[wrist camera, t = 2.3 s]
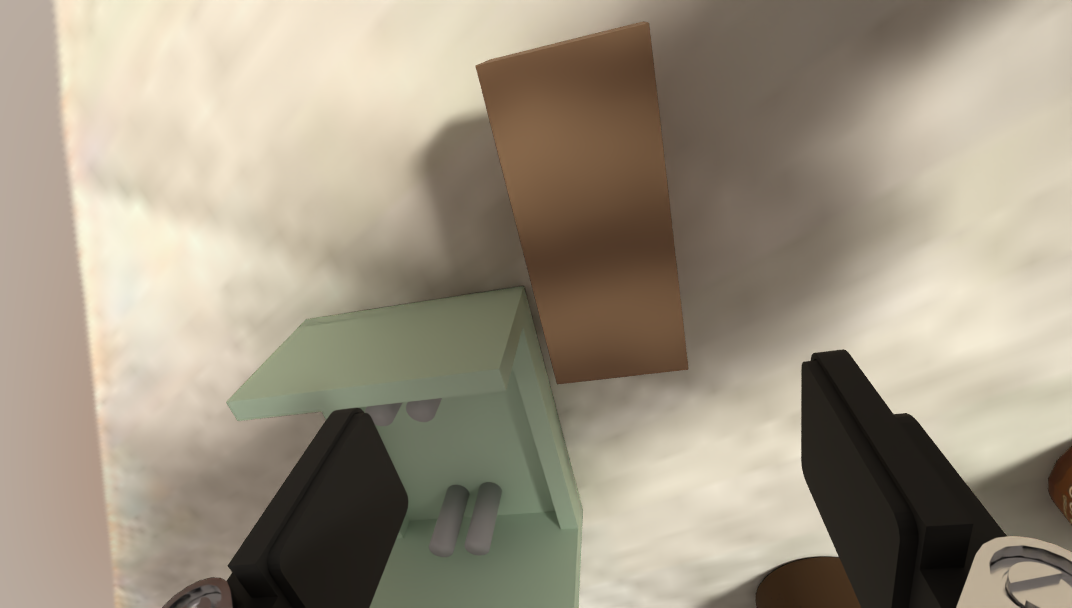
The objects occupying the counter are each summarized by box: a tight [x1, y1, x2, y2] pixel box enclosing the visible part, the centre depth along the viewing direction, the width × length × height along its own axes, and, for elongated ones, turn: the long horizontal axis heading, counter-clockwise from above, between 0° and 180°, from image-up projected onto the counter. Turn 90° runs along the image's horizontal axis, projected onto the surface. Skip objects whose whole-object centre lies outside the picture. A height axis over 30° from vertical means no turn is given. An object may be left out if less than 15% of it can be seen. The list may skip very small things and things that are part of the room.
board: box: [476, 22, 688, 384], centre depth 22 cm, size 14×6×3 cm, turn 13°
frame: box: [226, 286, 583, 608], centre depth 32 cm, size 18×14×8 cm
